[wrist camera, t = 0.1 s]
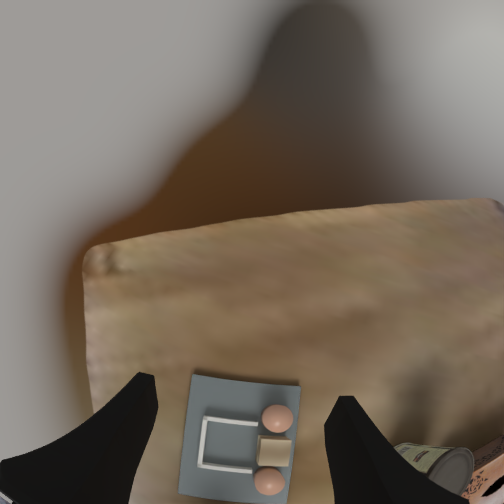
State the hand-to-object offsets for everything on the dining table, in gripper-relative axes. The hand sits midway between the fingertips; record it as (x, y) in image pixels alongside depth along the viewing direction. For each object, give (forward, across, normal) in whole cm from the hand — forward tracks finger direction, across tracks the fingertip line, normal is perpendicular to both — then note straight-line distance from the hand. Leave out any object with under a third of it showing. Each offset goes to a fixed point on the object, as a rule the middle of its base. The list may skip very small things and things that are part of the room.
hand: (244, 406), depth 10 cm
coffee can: (+11, -30, +33) cm, 46 cm away
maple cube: (+15, -6, +28) cm, 32 cm away
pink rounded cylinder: (+11, -6, +32) cm, 34 cm away
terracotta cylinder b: (+18, -6, +25) cm, 32 cm away
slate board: (+15, -2, +29) cm, 33 cm away
